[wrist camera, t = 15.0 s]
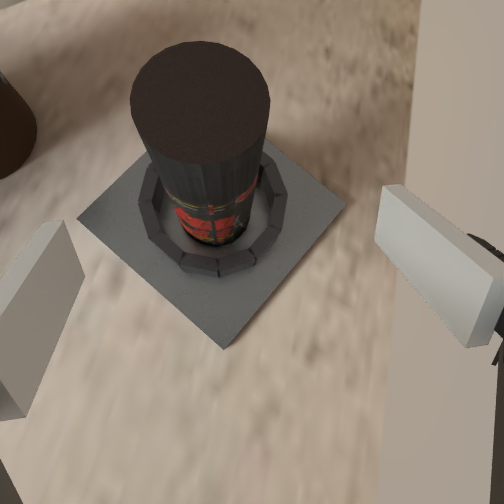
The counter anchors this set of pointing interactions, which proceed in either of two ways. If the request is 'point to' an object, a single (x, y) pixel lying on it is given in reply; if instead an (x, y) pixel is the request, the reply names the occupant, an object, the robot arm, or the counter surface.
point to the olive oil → (14, 128)
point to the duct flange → (208, 257)
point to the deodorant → (204, 134)
